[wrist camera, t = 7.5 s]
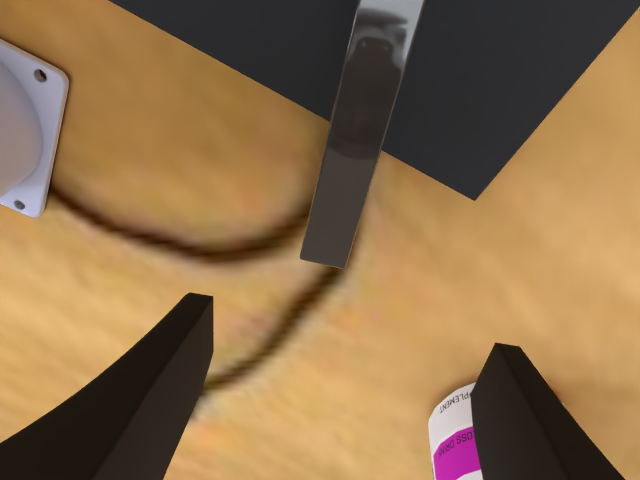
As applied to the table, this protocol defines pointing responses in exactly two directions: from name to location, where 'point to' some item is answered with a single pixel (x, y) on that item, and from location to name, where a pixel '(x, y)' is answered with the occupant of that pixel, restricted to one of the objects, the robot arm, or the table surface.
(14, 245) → the table surface
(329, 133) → the pot
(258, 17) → the desk mat
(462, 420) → the supplement can
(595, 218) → the table surface
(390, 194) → the table surface
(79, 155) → the table surface
